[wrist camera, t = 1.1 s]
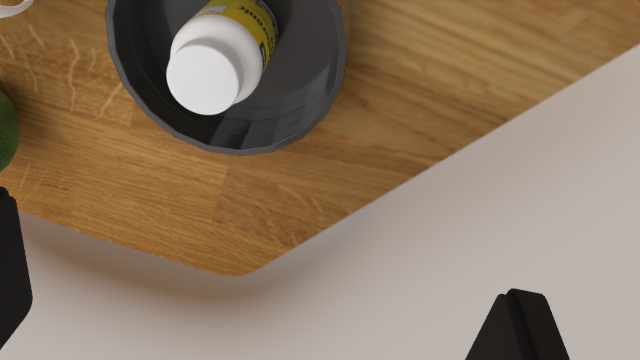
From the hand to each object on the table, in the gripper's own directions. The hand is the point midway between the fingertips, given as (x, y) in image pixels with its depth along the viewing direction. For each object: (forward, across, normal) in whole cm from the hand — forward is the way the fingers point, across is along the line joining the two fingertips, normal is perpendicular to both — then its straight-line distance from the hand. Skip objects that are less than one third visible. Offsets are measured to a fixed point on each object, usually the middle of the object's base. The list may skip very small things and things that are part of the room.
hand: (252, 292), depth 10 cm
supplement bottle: (+28, +6, +4) cm, 29 cm away
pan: (+28, +6, +4) cm, 29 cm away
